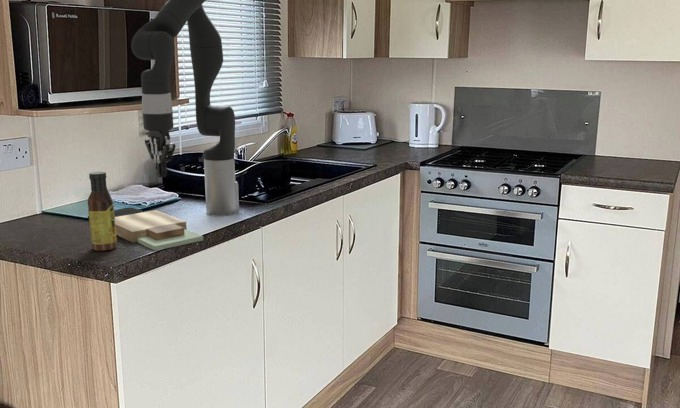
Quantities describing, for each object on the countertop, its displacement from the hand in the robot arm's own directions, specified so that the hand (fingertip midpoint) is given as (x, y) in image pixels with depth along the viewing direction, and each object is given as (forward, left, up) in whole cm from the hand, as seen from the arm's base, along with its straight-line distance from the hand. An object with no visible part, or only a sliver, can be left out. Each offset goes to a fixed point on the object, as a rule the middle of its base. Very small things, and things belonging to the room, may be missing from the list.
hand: (162, 176), depth 181 cm
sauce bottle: (+16, -3, -18) cm, 24 cm away
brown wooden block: (0, 0, -16) cm, 16 cm away
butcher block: (0, -12, -17) cm, 21 cm away
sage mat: (0, +3, -17) cm, 17 cm away
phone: (-1, -34, -18) cm, 38 cm away
